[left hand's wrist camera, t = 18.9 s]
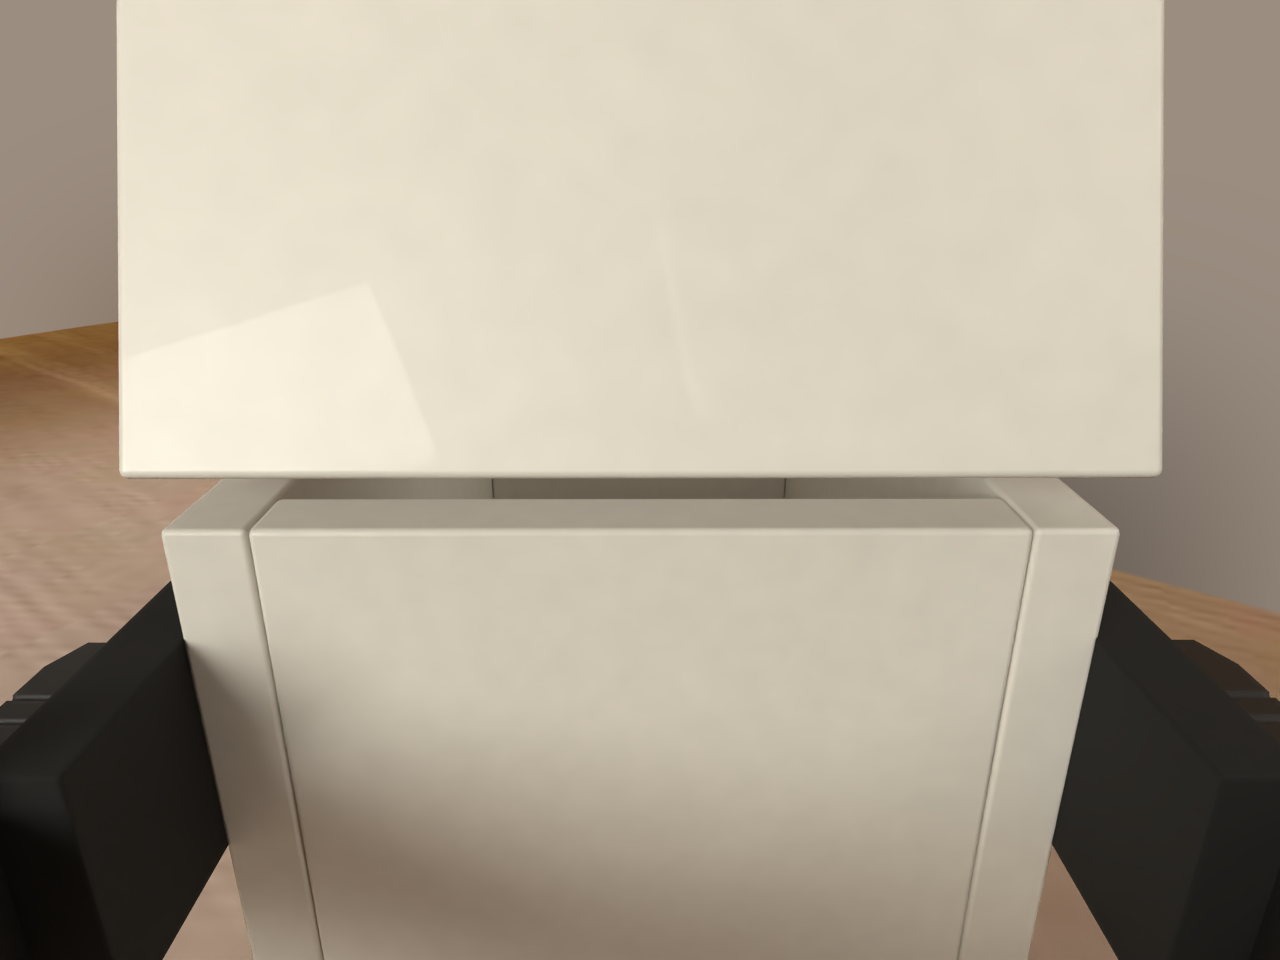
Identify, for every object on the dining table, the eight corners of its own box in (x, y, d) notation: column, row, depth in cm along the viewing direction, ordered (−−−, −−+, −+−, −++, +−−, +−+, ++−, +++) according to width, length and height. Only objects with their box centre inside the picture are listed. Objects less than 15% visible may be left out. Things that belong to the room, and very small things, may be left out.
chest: (475, 602, 26) (450, 282, 22) (802, 601, 26) (826, 282, 22) (290, 1143, 12) (156, 530, 9) (989, 1141, 12) (1124, 530, 9)
